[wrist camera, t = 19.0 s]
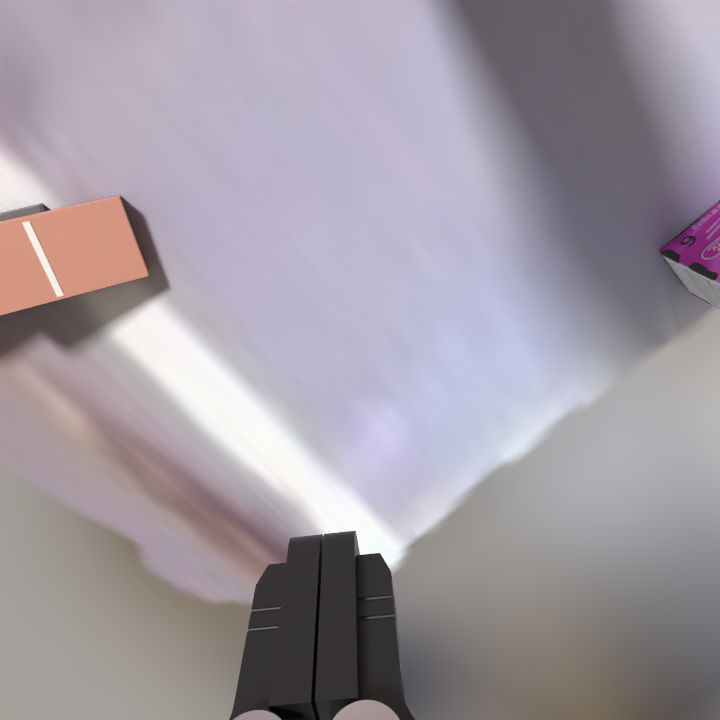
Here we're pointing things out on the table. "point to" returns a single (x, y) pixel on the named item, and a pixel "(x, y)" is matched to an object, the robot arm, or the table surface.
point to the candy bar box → (698, 256)
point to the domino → (66, 253)
